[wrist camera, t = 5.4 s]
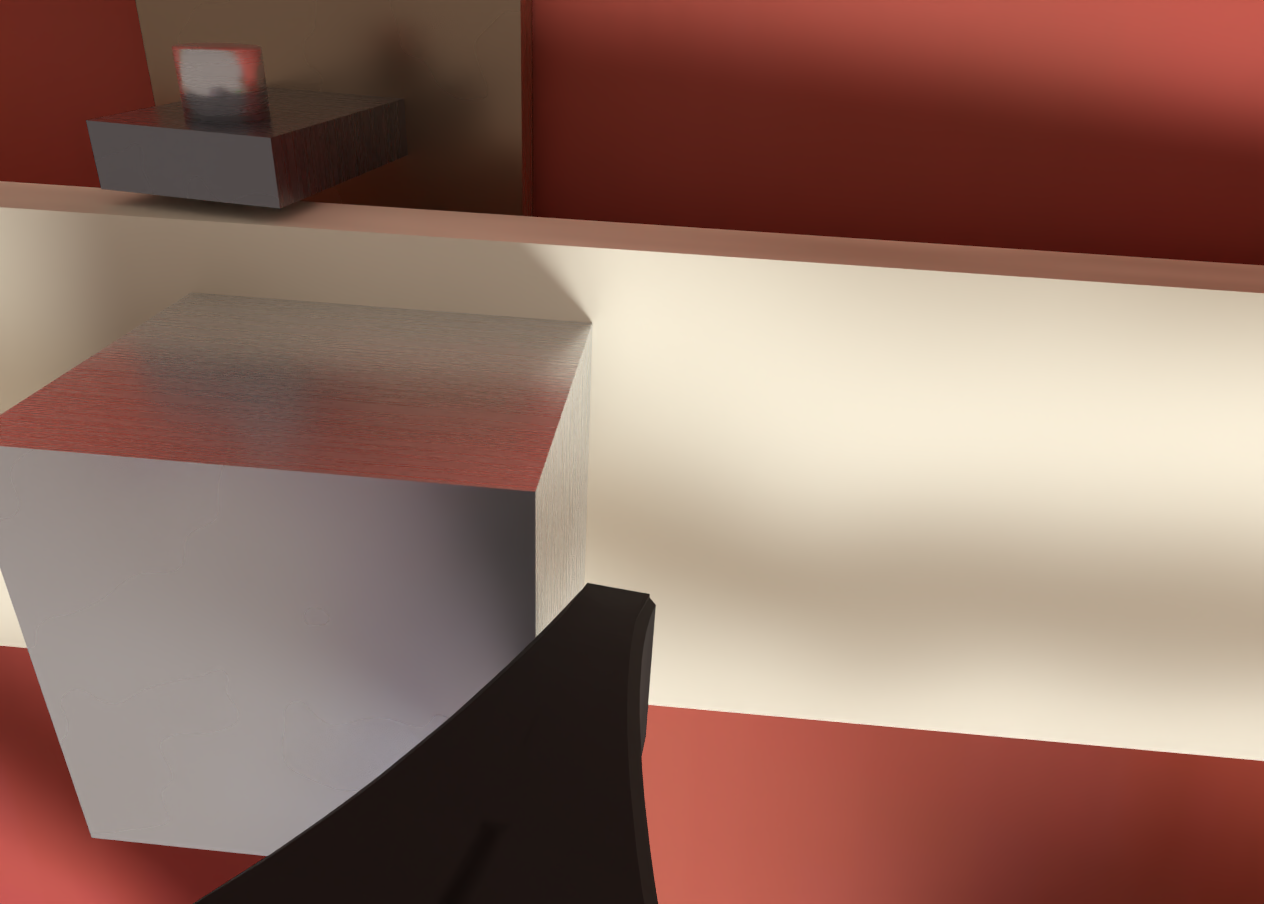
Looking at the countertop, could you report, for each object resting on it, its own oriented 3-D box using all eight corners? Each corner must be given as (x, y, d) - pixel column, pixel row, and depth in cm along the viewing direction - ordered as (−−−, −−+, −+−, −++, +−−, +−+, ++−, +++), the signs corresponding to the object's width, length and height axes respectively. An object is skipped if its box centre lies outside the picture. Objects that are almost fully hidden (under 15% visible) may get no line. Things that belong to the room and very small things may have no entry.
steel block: (582, 643, 14) (535, 884, 10) (250, 613, 14) (91, 837, 10) (592, 322, 11) (535, 491, 8) (190, 291, 11) (-43, 442, 8)
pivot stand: (535, 654, 19) (459, 811, 15) (265, 602, 20) (138, 738, 16) (531, -10, 13) (409, 0, 9) (152, -34, 14) (-85, -33, 10)
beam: (1360, 715, 15) (1486, 862, 12) (-511, 549, 16) (-723, 652, 14) (1605, 288, 11) (1841, 378, 9) (-789, 128, 13) (-1134, 168, 10)
